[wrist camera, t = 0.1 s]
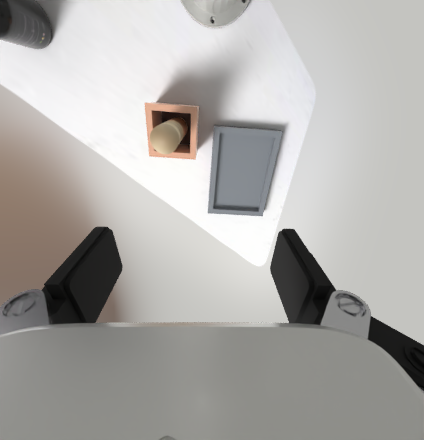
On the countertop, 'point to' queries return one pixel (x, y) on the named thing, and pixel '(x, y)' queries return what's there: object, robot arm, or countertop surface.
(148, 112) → the deep cup
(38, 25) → the supplement bottle
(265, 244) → the countertop surface
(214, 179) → the tray
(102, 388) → the robot arm
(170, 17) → the countertop surface
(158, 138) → the dowel
